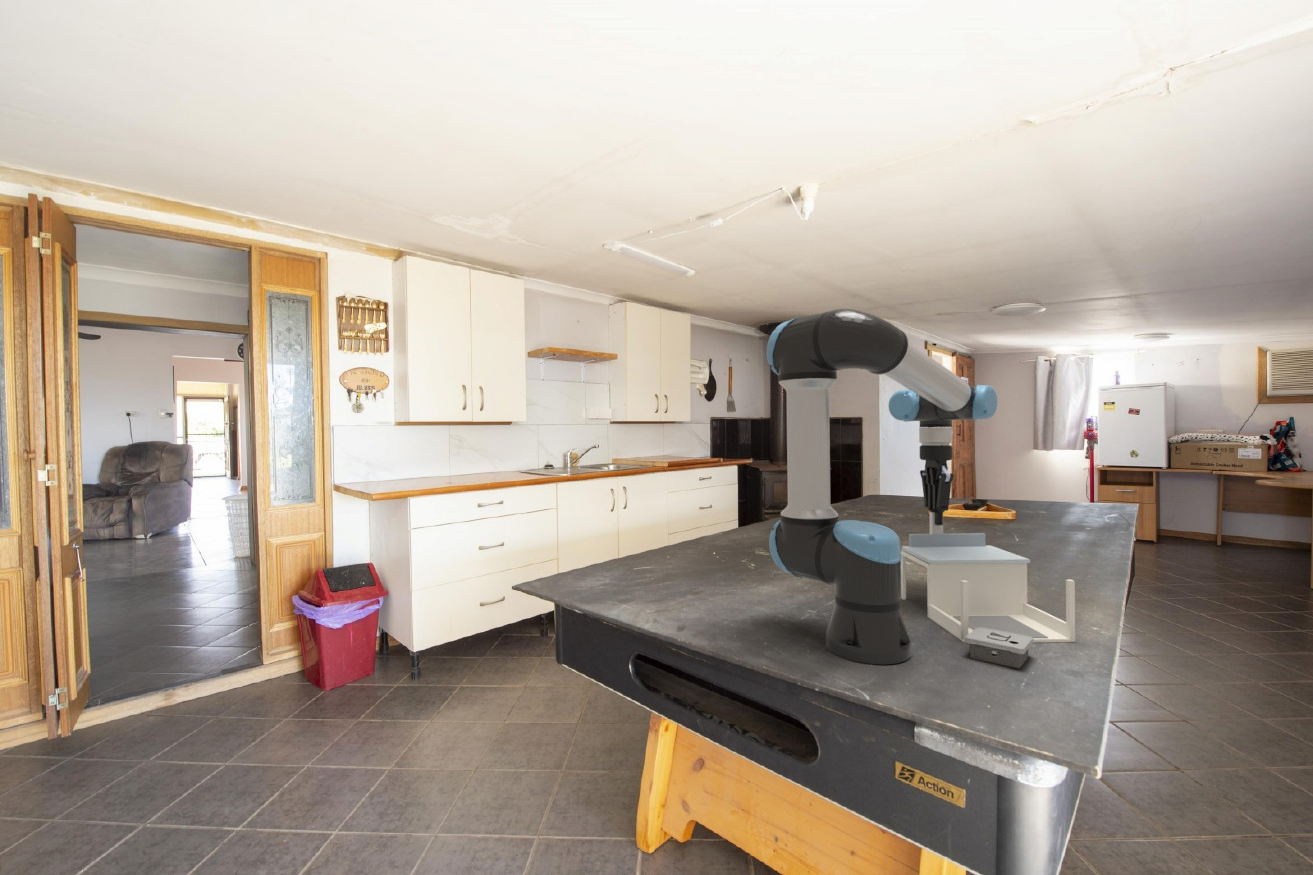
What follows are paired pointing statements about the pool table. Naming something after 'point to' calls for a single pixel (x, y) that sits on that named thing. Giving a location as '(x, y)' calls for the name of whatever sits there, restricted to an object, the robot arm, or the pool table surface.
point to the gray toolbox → (999, 646)
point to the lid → (958, 549)
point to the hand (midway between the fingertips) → (936, 537)
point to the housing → (989, 600)
